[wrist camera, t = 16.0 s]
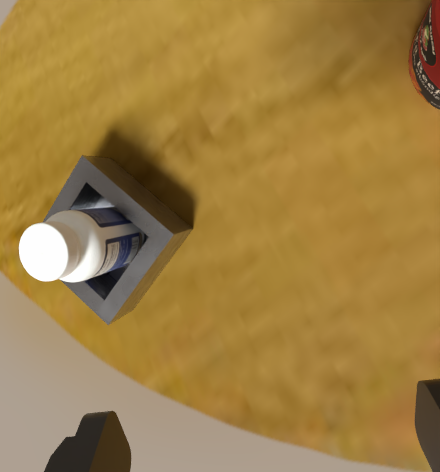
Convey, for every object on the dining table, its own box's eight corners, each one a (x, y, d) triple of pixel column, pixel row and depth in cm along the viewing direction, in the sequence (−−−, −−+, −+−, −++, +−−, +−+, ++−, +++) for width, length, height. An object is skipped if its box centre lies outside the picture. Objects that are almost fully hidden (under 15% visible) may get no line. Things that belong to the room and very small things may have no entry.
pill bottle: (84, 220, 36) (-2, 230, 27) (131, 197, 34) (56, 198, 25) (107, 274, 36) (28, 303, 27) (155, 252, 34) (89, 275, 25)
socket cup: (62, 241, 38) (27, 248, 34) (113, 158, 36) (82, 155, 31) (135, 308, 37) (108, 325, 33) (194, 228, 34) (173, 234, 30)
